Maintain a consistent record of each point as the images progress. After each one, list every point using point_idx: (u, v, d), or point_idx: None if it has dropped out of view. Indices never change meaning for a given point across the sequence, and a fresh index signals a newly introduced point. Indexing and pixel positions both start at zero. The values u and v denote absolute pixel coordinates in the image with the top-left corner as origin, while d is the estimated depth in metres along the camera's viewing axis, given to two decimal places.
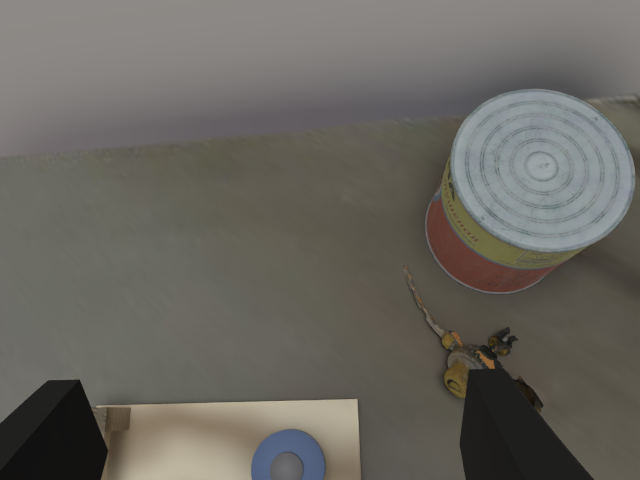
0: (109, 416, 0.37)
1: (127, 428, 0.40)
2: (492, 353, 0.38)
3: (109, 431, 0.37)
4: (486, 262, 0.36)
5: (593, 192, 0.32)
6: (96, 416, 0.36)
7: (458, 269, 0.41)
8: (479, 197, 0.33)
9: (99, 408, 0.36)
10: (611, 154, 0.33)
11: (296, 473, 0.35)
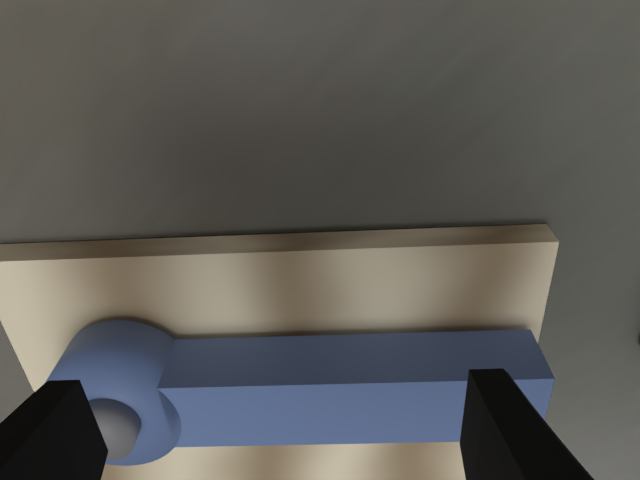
0: None
1: None
2: None
3: None
4: None
5: None
6: None
7: None
8: None
9: None
10: None
11: (101, 425, 0.17)
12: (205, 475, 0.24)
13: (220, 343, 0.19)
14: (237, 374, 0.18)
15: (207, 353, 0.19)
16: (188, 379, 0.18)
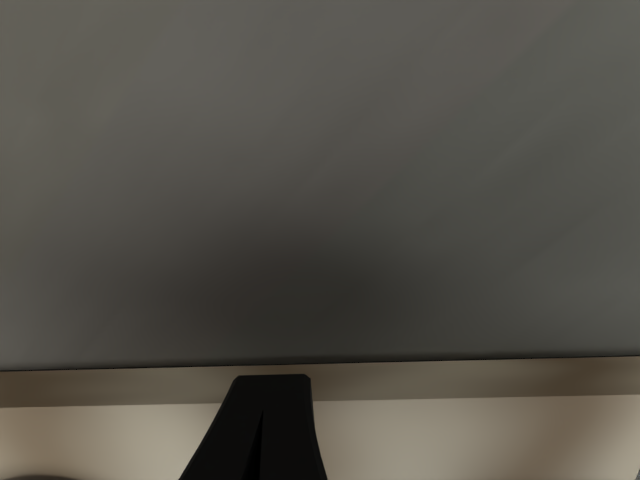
0: None
1: None
2: None
3: None
4: None
5: None
6: None
7: None
8: None
9: None
10: None
11: None
12: None
13: None
14: None
15: None
16: None
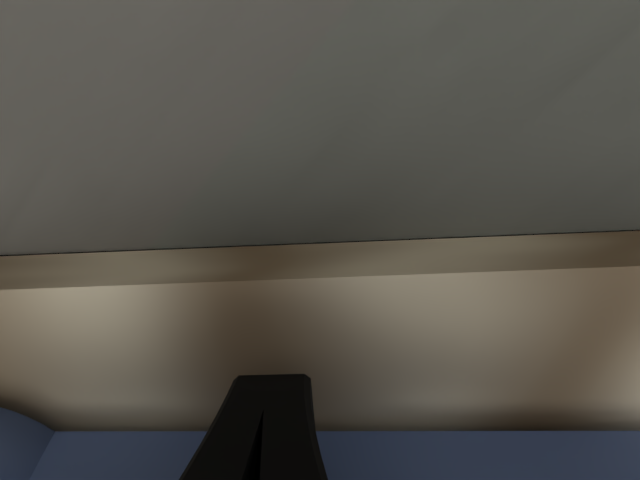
0: None
1: None
2: None
3: None
4: None
5: None
6: None
7: None
8: None
9: None
10: None
11: None
12: None
13: (131, 442, 0.11)
14: None
15: (104, 463, 0.11)
16: None
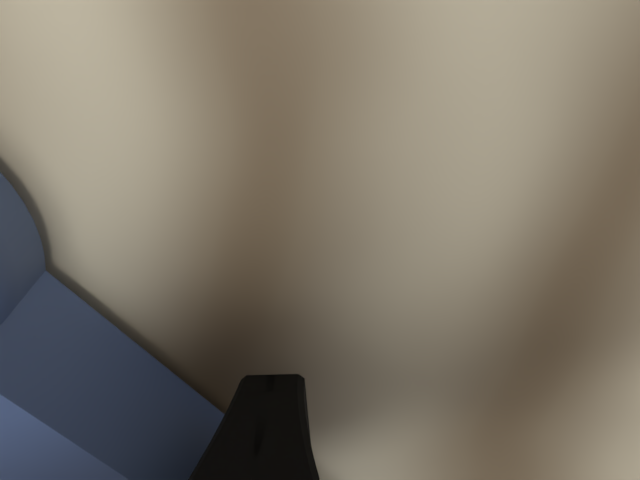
0: None
1: None
2: None
3: None
4: None
5: None
6: None
7: None
8: None
9: None
10: None
11: None
12: None
13: (116, 342, 0.10)
14: (124, 440, 0.09)
15: (90, 348, 0.09)
16: (36, 390, 0.08)
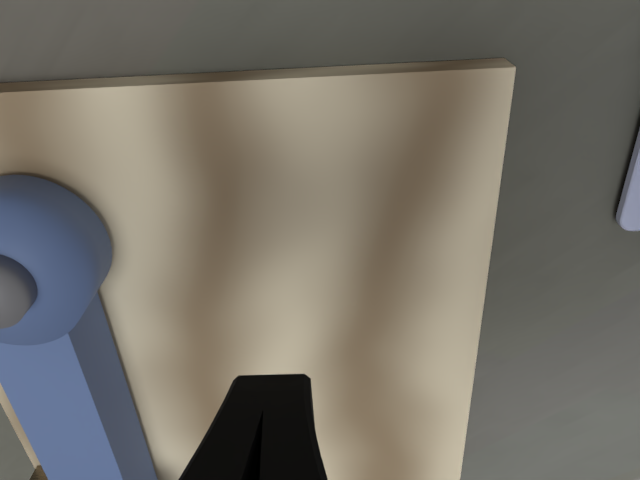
0: None
1: None
2: None
3: None
4: None
5: None
6: None
7: None
8: None
9: None
10: None
11: (11, 304, 0.15)
12: (135, 381, 0.22)
13: (105, 330, 0.20)
14: (95, 379, 0.19)
15: (97, 332, 0.19)
16: (80, 347, 0.18)
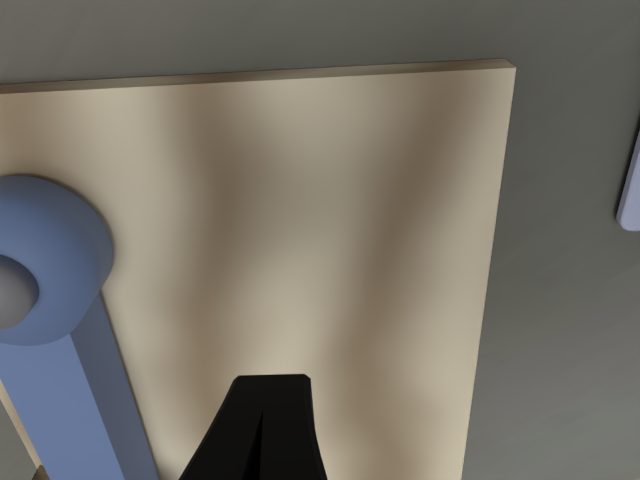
0: None
1: None
2: None
3: None
4: None
5: None
6: None
7: None
8: None
9: None
10: None
11: (13, 305, 0.15)
12: (137, 381, 0.22)
13: (106, 331, 0.20)
14: (97, 379, 0.19)
15: (99, 332, 0.19)
16: (82, 348, 0.18)
